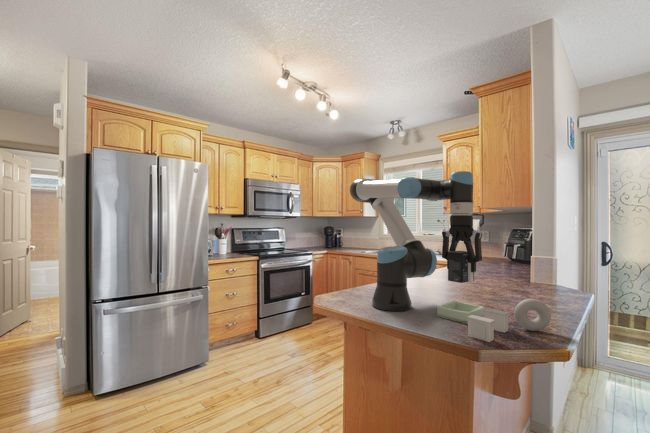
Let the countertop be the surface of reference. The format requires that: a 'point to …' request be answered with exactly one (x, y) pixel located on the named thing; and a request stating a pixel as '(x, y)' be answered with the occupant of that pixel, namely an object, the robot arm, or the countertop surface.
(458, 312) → the tray
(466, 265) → the box
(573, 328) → the countertop surface
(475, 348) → the countertop surface
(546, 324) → the donut
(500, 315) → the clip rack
